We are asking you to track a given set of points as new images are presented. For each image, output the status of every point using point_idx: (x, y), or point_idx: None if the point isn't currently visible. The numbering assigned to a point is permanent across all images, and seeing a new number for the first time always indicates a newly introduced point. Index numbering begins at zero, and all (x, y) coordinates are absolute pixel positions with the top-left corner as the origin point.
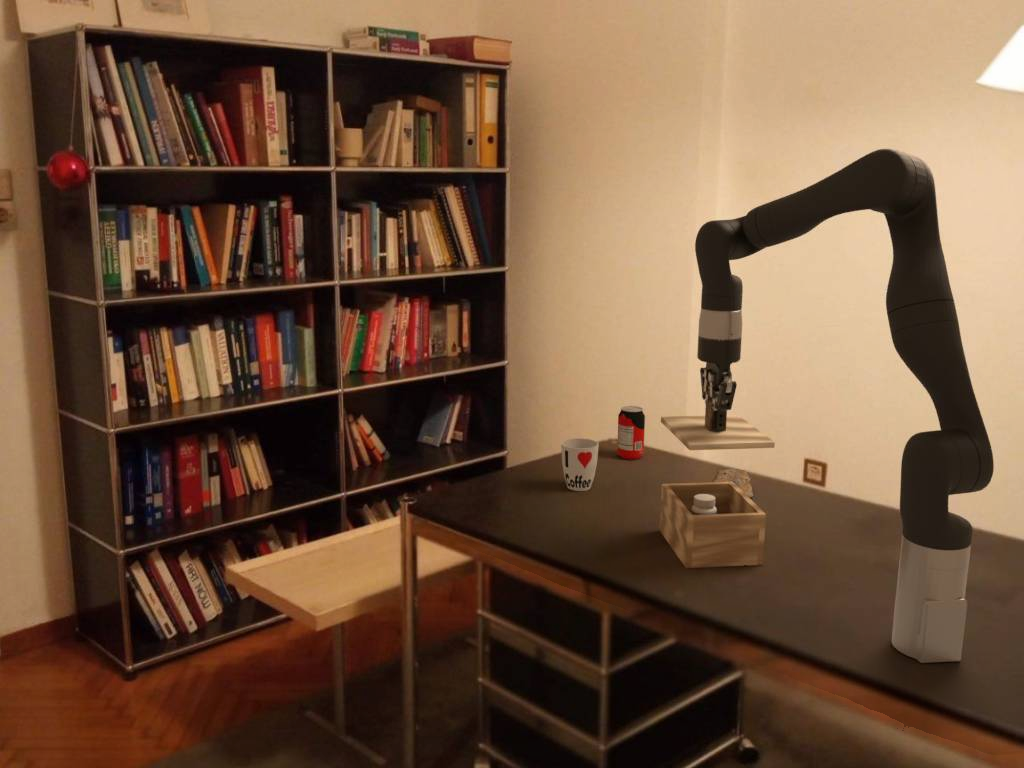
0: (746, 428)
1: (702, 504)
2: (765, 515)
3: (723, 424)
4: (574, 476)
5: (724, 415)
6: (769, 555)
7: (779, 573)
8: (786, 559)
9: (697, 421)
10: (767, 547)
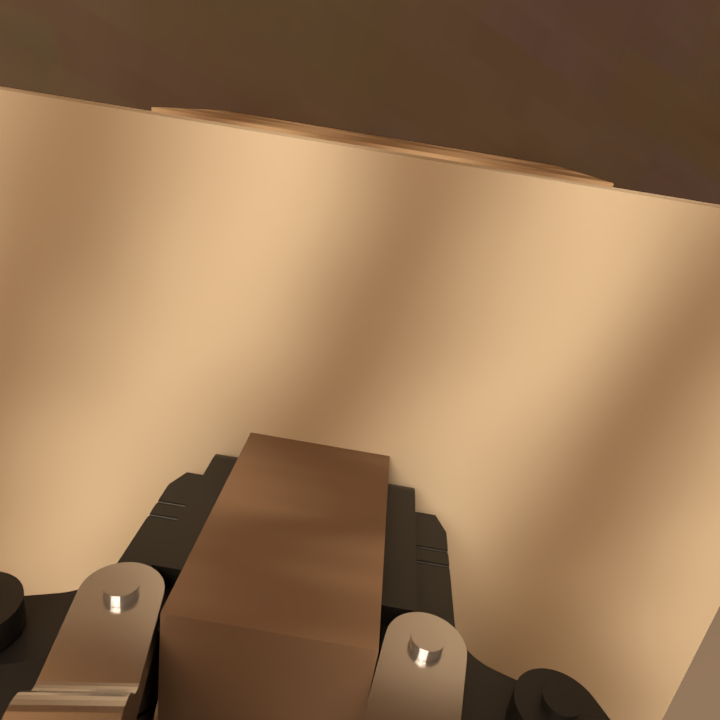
0: (364, 251)
1: None
2: (611, 185)
3: (447, 553)
4: None
5: (452, 613)
6: (491, 96)
7: (636, 144)
8: (544, 50)
9: (77, 520)
10: (424, 62)
